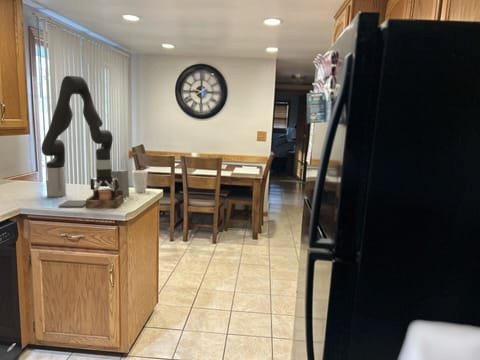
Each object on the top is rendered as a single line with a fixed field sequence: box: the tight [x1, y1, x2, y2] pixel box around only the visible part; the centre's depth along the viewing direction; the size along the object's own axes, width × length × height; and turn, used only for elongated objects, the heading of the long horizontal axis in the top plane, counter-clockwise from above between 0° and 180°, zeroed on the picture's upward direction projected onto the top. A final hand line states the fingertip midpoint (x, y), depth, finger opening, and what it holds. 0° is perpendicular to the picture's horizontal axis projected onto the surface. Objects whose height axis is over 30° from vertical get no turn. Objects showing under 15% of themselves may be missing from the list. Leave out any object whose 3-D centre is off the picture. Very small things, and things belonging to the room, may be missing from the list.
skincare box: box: [112, 169, 130, 197], centre depth 208 cm, size 8×7×16 cm
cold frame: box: [85, 189, 125, 209], centre depth 187 cm, size 16×14×7 cm
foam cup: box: [131, 169, 149, 193], centre depth 223 cm, size 10×9×13 cm
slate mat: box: [58, 199, 86, 209], centre depth 186 cm, size 12×12×1 cm
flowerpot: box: [98, 187, 112, 200], centre depth 187 cm, size 7×7×8 cm
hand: (105, 197), depth 187 cm, fingers open, 8 cm apart
